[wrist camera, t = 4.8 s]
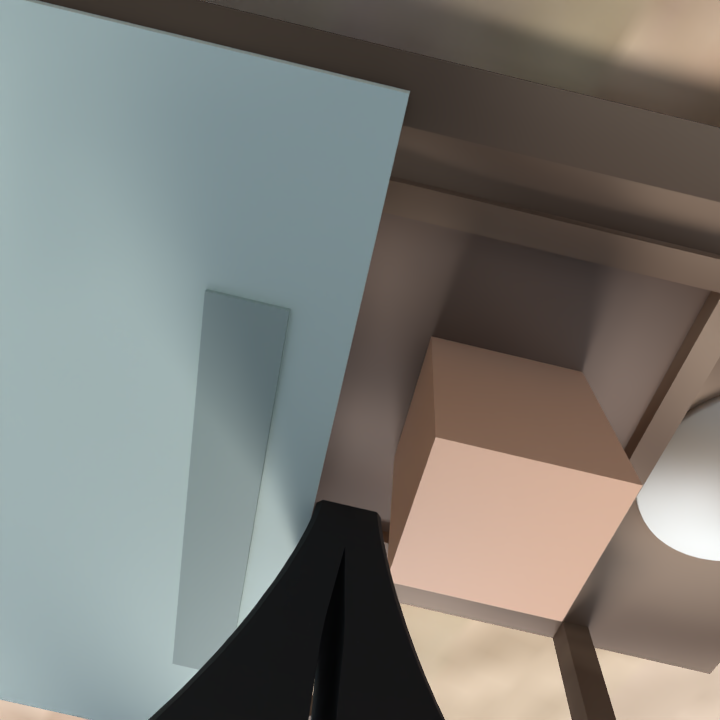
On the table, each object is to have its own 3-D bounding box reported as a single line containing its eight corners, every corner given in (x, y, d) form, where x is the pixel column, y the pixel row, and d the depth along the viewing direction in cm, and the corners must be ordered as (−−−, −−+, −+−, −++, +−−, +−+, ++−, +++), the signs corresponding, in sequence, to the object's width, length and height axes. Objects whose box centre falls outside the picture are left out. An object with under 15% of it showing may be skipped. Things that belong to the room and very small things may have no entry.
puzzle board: (698, 650, 23) (791, 843, 17) (-33, 482, 22) (-187, 624, 17) (1049, 213, 14) (1464, 309, 9) (-121, -73, 14) (-498, -171, 8)
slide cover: (264, 719, 16) (254, 760, 15) (-73, 644, 16) (-104, 680, 15) (409, 91, 8) (408, 93, 7) (-248, -69, 8) (-336, -88, 7)
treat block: (527, 488, 18) (562, 621, 14) (394, 457, 18) (385, 581, 14) (582, 372, 16) (642, 485, 12) (431, 336, 16) (435, 437, 12)
